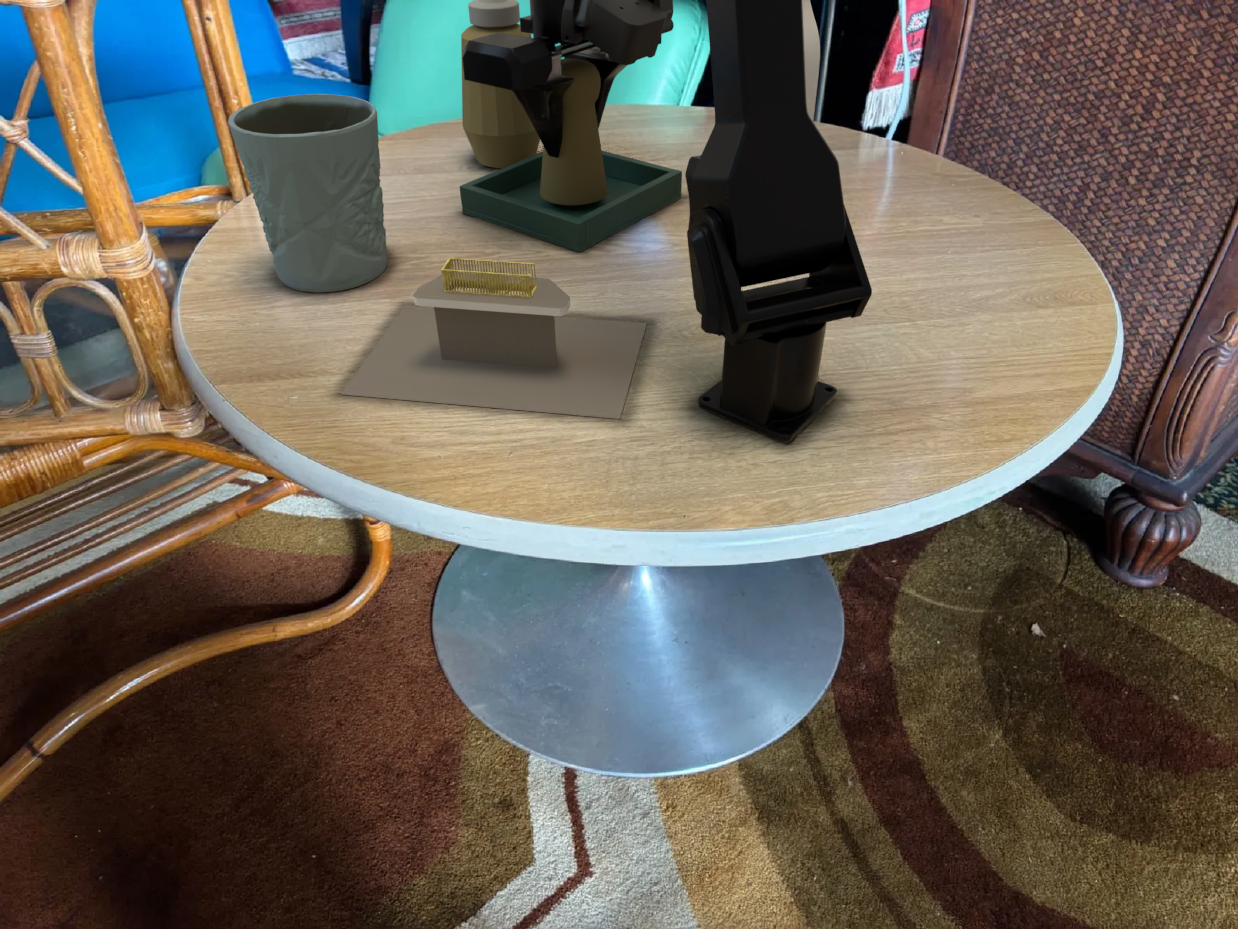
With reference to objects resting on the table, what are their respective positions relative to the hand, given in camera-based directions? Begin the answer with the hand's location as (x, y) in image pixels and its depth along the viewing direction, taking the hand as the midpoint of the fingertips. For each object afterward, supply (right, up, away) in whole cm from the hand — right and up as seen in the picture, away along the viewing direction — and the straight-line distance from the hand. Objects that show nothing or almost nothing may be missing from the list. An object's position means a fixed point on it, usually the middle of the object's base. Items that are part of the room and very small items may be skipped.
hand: (572, 149), depth 78 cm
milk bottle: (+18, -1, +7) cm, 19 cm away
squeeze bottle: (-7, +3, +13) cm, 15 cm away
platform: (-4, -20, -17) cm, 27 cm away
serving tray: (0, -4, +3) cm, 5 cm away
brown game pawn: (0, -3, +2) cm, 4 cm away
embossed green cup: (-18, -12, -6) cm, 23 cm away
